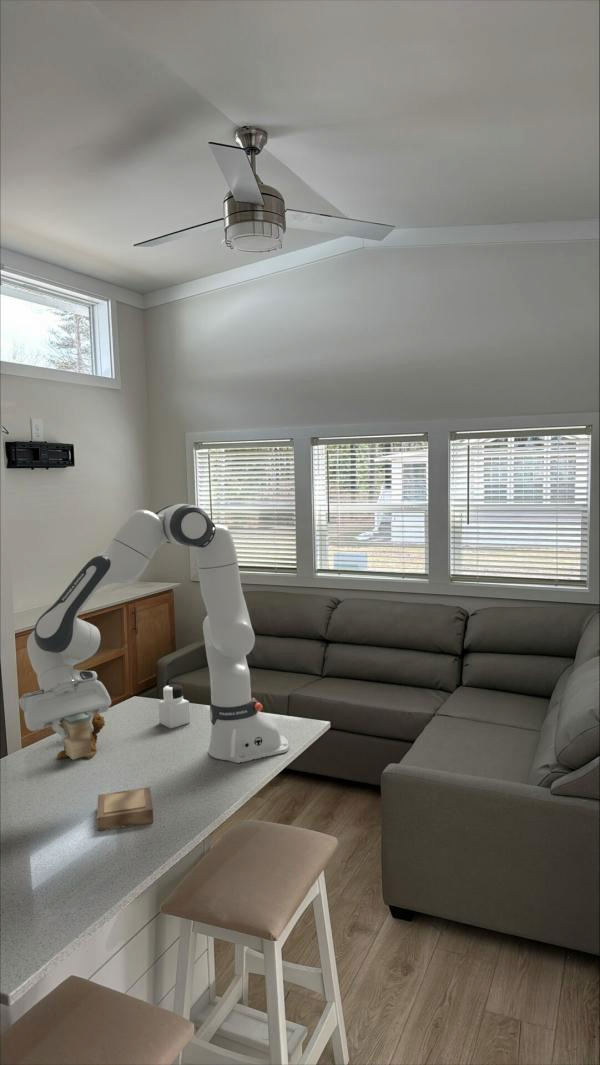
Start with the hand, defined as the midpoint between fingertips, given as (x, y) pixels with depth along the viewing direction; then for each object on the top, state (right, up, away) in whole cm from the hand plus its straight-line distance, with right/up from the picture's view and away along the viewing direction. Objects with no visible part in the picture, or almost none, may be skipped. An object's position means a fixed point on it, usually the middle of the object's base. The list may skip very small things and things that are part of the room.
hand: (78, 734), depth 167 cm
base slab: (+12, -17, -4) cm, 21 cm away
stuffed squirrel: (-10, -15, +36) cm, 40 cm away
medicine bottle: (+13, -12, +56) cm, 59 cm away
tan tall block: (0, -5, +1) cm, 5 cm away
